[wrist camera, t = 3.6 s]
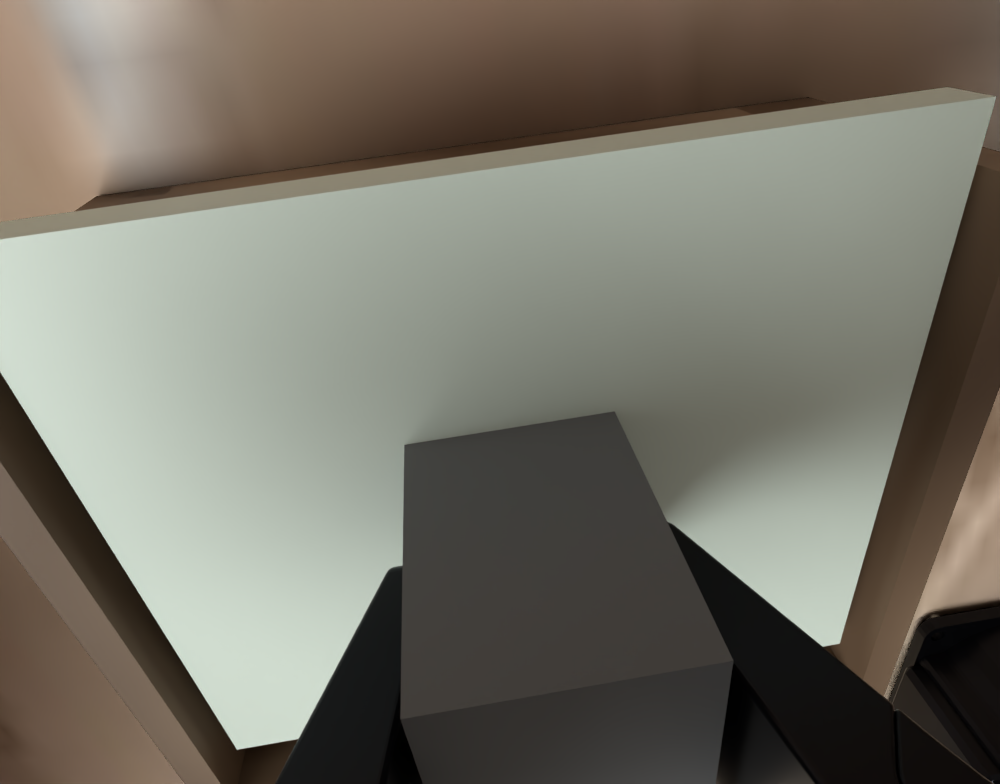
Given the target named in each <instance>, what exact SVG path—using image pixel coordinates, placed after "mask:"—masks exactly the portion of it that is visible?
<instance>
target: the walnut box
mask: <svg viewBox="0 0 1000 784" xmlns="http://www.w3.org/2000/svg"><path fill="white" fill-rule="evenodd" d="M825 104H830V103H826V102H823V101H819V100H816V99H812V98H809V97H807V98H800V99H793V100H785V101H778V102H771V103H764V104H757V105H749V106H742V107H735V108H728V109H721V110H714V111H706V112H699V113H692V114H685V115H678V116H670V117H663V118H656V119H649V120H642V121H635V122H627V123H620V124H613V125H606V126H599V127H591V128H584V129H577V130H570V131H563V132H556V133H548V134H541V135H534V136H527V137H520V138H512V139H505V140H498V141H491V142H484V143H477V144H469V145H462V146H455V147H448V148H441V149H434V150H426V151H419V152H412V153H405V154H398V155H390V156H383V157H376V158H369V159H362V160H355V161H347V162H340V163H333V164H326V165H319V166H311V167H304V168H297V169H290V170H283V171H276V172H268V173H261V174H254V175H247V176H240V177H232V178H225V179H218V180H211V181H204V182H197V183H189V184H182V185H175V186H168V187H161V188H153V189H146V190H139V191H132V192H125V193H118V194H110V195H103V196H96V197H95V198H93V199H92V200H90V201H89V202H87V203H86V204H85V205H83V206H82V207H80V208H79V209H77V210H76V211H81V210H88V209H95V208H102V207H109V206H116V205H123V204H130V203H137V202H144V201H151V200H158V199H165V198H172V197H179V196H186V195H193V194H201V193H208V192H215V191H222V190H229V189H236V188H243V187H250V186H257V185H264V184H271V183H278V182H285V181H292V180H299V179H306V178H313V177H320V176H327V175H334V174H341V173H348V172H355V171H362V170H369V169H376V168H383V167H390V166H397V165H404V164H411V163H418V162H425V161H432V160H439V159H446V158H453V157H460V156H467V155H474V154H481V153H488V152H495V151H502V150H509V149H516V148H523V147H530V146H537V145H544V144H551V143H558V142H565V141H572V140H579V139H586V138H593V137H600V136H607V135H614V134H621V133H628V132H635V131H642V130H649V129H656V128H663V127H670V126H677V125H685V124H692V123H699V122H706V121H713V120H720V119H727V118H734V117H741V116H748V115H755V114H762V113H769V112H776V111H783V110H790V109H797V108H804V107H811V106H818V105H825ZM999 388H1000V152H999V151H995V150H992V149H988V148H984V147H982V149H981V153H980V156H979V160H978V163H977V166H976V170H975V173H974V177H973V180H972V184H971V187H970V191H969V194H968V198H967V201H966V205H965V208H964V212H963V215H962V219H961V222H960V226H959V229H958V233H957V236H956V240H955V243H954V247H953V250H952V254H951V257H950V261H949V264H948V268H947V271H946V275H945V278H944V282H943V285H942V289H941V292H940V295H939V299H938V302H937V306H936V309H935V313H934V316H933V320H932V323H931V327H930V330H929V334H928V337H927V341H926V344H925V348H924V351H923V355H922V358H921V362H920V365H919V369H918V372H917V376H916V379H915V383H914V386H913V390H912V393H911V397H910V400H909V404H908V407H907V411H906V414H905V417H904V421H903V424H902V428H901V431H900V435H899V438H898V442H897V445H896V449H895V452H894V456H893V459H892V463H891V466H890V470H889V473H888V477H887V480H886V484H885V487H884V491H883V494H882V498H881V501H880V505H879V508H878V512H877V515H876V519H875V522H874V526H873V529H872V533H871V536H870V539H869V543H868V546H867V550H866V553H865V557H864V560H863V564H862V567H861V571H860V574H859V578H858V581H857V585H856V588H855V592H854V595H853V599H852V602H851V606H850V609H849V613H848V616H847V620H846V623H845V627H844V630H843V634H842V637H841V641H840V644H835V645H829V646H824V648H825V649H826V650H827V651H829V652H830V653H831V654H832V655H834V656H835V657H836V658H837V659H838V660H840V661H841V662H842V663H843V664H845V665H846V666H847V667H848V668H849V669H851V670H852V671H853V672H854V673H856V674H857V675H858V676H859V677H860V678H862V679H863V680H864V681H865V682H867V683H868V684H869V685H870V686H871V687H873V688H874V689H875V690H876V691H878V692H879V693H880V694H881V695H882V696H884V694H885V691H886V689H887V686H888V683H889V681H890V678H891V675H892V673H893V670H894V667H895V665H896V662H897V659H898V657H899V654H900V651H901V649H902V646H903V643H904V641H905V638H906V635H907V633H908V630H909V627H910V625H911V622H912V619H913V617H914V614H915V611H916V609H917V606H918V603H919V601H920V598H921V595H922V593H923V590H924V587H925V585H926V582H927V579H928V577H929V574H930V571H931V569H932V566H933V564H934V561H935V558H936V556H937V553H938V550H939V548H940V545H941V542H942V540H943V537H944V534H945V532H946V529H947V526H948V524H949V521H950V518H951V516H952V513H953V510H954V508H955V505H956V502H957V500H958V497H959V494H960V492H961V489H962V486H963V484H964V481H965V478H966V476H967V473H968V470H969V468H970V465H971V462H972V460H973V457H974V454H975V452H976V449H977V446H978V444H979V441H980V438H981V436H982V433H983V430H984V428H985V425H986V422H987V420H988V417H989V415H990V412H991V409H992V407H993V404H994V401H995V399H996V396H997V393H998V391H999ZM0 536H1V538H2V539H3V540H4V542H5V543H6V544H7V546H8V547H9V548H10V550H11V551H12V552H13V554H14V555H15V556H16V558H17V559H18V560H19V562H20V563H21V564H22V566H23V567H24V568H25V570H26V571H27V572H28V574H29V575H30V576H31V578H32V579H33V581H34V582H35V583H36V585H37V586H38V587H39V589H40V590H41V591H42V593H43V594H44V595H45V597H46V598H47V599H48V601H49V602H50V603H51V605H52V606H53V607H54V609H55V610H56V611H57V613H58V614H59V615H60V617H61V618H62V619H63V621H64V622H65V624H66V625H67V626H68V628H69V629H70V630H71V632H72V633H73V634H74V636H75V637H76V638H77V640H78V641H79V642H80V644H81V645H82V646H83V648H84V649H85V650H86V652H87V653H88V654H89V656H90V657H91V658H92V660H93V661H94V662H95V664H96V665H97V667H98V668H99V669H100V671H101V672H102V673H103V675H104V676H105V677H106V679H107V680H108V681H109V683H110V684H111V685H112V687H113V688H114V689H115V691H116V692H117V693H118V695H119V696H120V697H121V699H122V700H123V701H124V703H125V704H126V705H127V707H128V708H129V710H130V711H131V712H132V714H133V715H134V716H135V718H136V719H137V720H138V722H139V723H140V724H141V726H142V727H143V728H144V730H145V731H146V732H147V734H148V735H149V736H150V738H151V739H152V740H153V742H154V743H155V744H156V746H157V747H158V748H159V750H160V751H161V752H162V754H163V755H164V757H165V758H166V759H167V761H168V762H169V763H170V765H171V766H172V767H173V769H174V770H175V771H176V773H177V774H178V775H179V777H180V778H181V779H182V781H183V782H184V783H185V784H275V782H276V780H277V778H278V776H279V775H280V773H281V771H282V769H283V767H284V765H285V763H286V761H287V759H288V758H289V756H290V754H291V752H292V750H293V748H294V746H295V744H296V742H297V741H298V739H295V740H290V741H284V742H278V743H273V744H267V745H261V746H256V747H250V748H244V749H238V750H237V749H236V747H235V746H234V744H233V743H232V741H231V739H230V738H229V736H228V735H227V733H226V731H225V730H224V728H223V727H222V725H221V723H220V722H219V720H218V719H217V717H216V715H215V714H214V712H213V711H212V709H211V707H210V706H209V704H208V703H207V701H206V699H205V698H204V696H203V695H202V693H201V691H200V690H199V688H198V687H197V685H196V683H195V682H194V680H193V679H192V677H191V676H190V674H189V672H188V671H187V669H186V668H185V666H184V664H183V663H182V661H181V660H180V658H179V656H178V655H177V653H176V652H175V650H174V648H173V647H172V645H171V644H170V642H169V640H168V639H167V637H166V636H165V634H164V632H163V631H162V629H161V628H160V626H159V624H158V623H157V621H156V620H155V618H154V617H153V615H152V613H151V612H150V610H149V609H148V607H147V605H146V604H145V602H144V601H143V599H142V597H141V596H140V594H139V593H138V591H137V589H136V588H135V586H134V585H133V583H132V581H131V580H130V578H129V577H128V575H127V573H126V572H125V570H124V569H123V567H122V565H121V564H120V562H119V561H118V559H117V558H116V556H115V554H114V553H113V551H112V550H111V548H110V546H109V545H108V543H107V542H106V540H105V538H104V537H103V535H102V534H101V532H100V530H99V529H98V527H97V526H96V524H95V522H94V521H93V519H92V518H91V516H90V514H89V513H88V511H87V510H86V508H85V506H84V505H83V503H82V502H81V500H80V498H79V497H78V495H77V494H76V492H75V491H74V489H73V487H72V486H71V484H70V483H69V481H68V479H67V478H66V476H65V475H64V473H63V471H62V470H61V468H60V467H59V465H58V463H57V462H56V460H55V459H54V457H53V455H52V454H51V452H50V451H49V449H48V447H47V446H46V444H45V443H44V441H43V439H42V438H41V436H40V435H39V433H38V432H37V430H36V428H35V427H34V425H33V424H32V422H31V420H30V419H29V417H28V416H27V414H26V412H25V411H24V409H23V408H22V406H21V404H20V403H19V401H18V400H17V398H16V396H15V395H14V393H13V392H12V390H11V388H10V387H9V385H8V384H7V382H6V380H5V379H4V377H3V376H2V374H1V373H0Z"/></svg>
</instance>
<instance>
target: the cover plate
mask: <svg viewBox="0 0 1000 784" xmlns="http://www.w3.org/2000/svg"><path fill="white" fill-rule="evenodd" d="M996 97H997V96H992V95H987V94H981V93H976V92H971V91H966V90H961V89H955V88H950V87H944V88H937V89H930V90H923V91H916V92H909V93H902V94H895V95H888V96H881V97H874V98H867V99H860V100H853V101H846V102H839V103H832V104H825V105H818V106H811V107H804V108H797V109H790V110H783V111H776V112H769V113H762V114H755V115H748V116H741V117H734V118H727V119H720V120H713V121H706V122H699V123H692V124H685V125H677V126H670V127H663V128H656V129H649V130H642V131H635V132H628V133H621V134H614V135H607V136H600V137H593V138H586V139H579V140H572V141H565V142H558V143H551V144H544V145H537V146H530V147H523V148H516V149H509V150H502V151H495V152H488V153H481V154H474V155H467V156H460V157H453V158H446V159H439V160H432V161H425V162H418V163H411V164H404V165H397V166H390V167H383V168H376V169H369V170H362V171H355V172H348V173H341V174H334V175H327V176H320V177H313V178H306V179H299V180H292V181H285V182H278V183H271V184H264V185H257V186H250V187H243V188H236V189H229V190H222V191H215V192H208V193H201V194H193V195H186V196H179V197H172V198H165V199H158V200H151V201H144V202H137V203H130V204H123V205H116V206H109V207H102V208H95V209H88V210H81V211H74V212H67V213H60V214H53V215H46V216H39V217H32V218H25V219H18V220H11V221H4V222H0V373H1V374H2V376H3V377H4V379H5V380H6V382H7V384H8V385H9V387H10V388H11V390H12V392H13V393H14V395H15V396H16V398H17V400H18V401H19V403H20V404H21V406H22V408H23V409H24V411H25V412H26V414H27V416H28V417H29V419H30V420H31V422H32V424H33V425H34V427H35V428H36V430H37V432H38V433H39V435H40V436H41V438H42V439H43V441H44V443H45V444H46V446H47V447H48V449H49V451H50V452H51V454H52V455H53V457H54V459H55V460H56V462H57V463H58V465H59V467H60V468H61V470H62V471H63V473H64V475H65V476H66V478H67V479H68V481H69V483H70V484H71V486H72V487H73V489H74V491H75V492H76V494H77V495H78V497H79V498H80V500H81V502H82V503H83V505H84V506H85V508H86V510H87V511H88V513H89V514H90V516H91V518H92V519H93V521H94V522H95V524H96V526H97V527H98V529H99V530H100V532H101V534H102V535H103V537H104V538H105V540H106V542H107V543H108V545H109V546H110V548H111V550H112V551H113V553H114V554H115V556H116V558H117V559H118V561H119V562H120V564H121V565H122V567H123V569H124V570H125V572H126V573H127V575H128V577H129V578H130V580H131V581H132V583H133V585H134V586H135V588H136V589H137V591H138V593H139V594H140V596H141V597H142V599H143V601H144V602H145V604H146V605H147V607H148V609H149V610H150V612H151V613H152V615H153V617H154V618H155V620H156V621H157V623H158V624H159V626H160V628H161V629H162V631H163V632H164V634H165V636H166V637H167V639H168V640H169V642H170V644H171V645H172V647H173V648H174V650H175V652H176V653H177V655H178V656H179V658H180V660H181V661H182V663H183V664H184V666H185V668H186V669H187V671H188V672H189V674H190V676H191V677H192V679H193V680H194V682H195V683H196V685H197V687H198V688H199V690H200V691H201V693H202V695H203V696H204V698H205V699H206V701H207V703H208V704H209V706H210V707H211V709H212V711H213V712H214V714H215V715H216V717H217V719H218V720H219V722H220V723H221V725H222V727H223V728H224V730H225V731H226V733H227V735H228V736H229V738H230V739H231V741H232V743H233V744H234V746H235V747H236V749H237V750H238V749H244V748H250V747H256V746H261V745H267V744H273V743H278V742H284V741H290V740H295V739H299V737H300V735H301V733H302V731H303V729H304V727H305V725H306V724H307V722H308V720H309V718H310V716H311V714H312V712H313V710H314V708H315V707H316V705H317V703H318V701H319V699H320V697H321V695H322V693H323V691H324V690H325V688H326V686H327V684H328V682H329V680H330V678H331V676H332V674H333V673H334V671H335V669H336V667H337V665H338V663H339V661H340V659H341V657H342V656H343V654H344V652H345V650H346V648H347V646H348V644H349V642H350V640H351V639H352V637H353V635H354V633H355V631H356V629H357V627H358V625H359V623H360V622H361V620H362V618H363V616H364V614H365V612H366V610H367V608H368V606H369V605H370V603H371V601H372V599H373V597H374V595H375V593H376V591H377V589H378V588H379V586H380V584H381V582H382V580H383V578H384V576H385V574H386V573H387V571H388V570H389V569H390V568H392V567H396V566H402V565H403V569H402V640H401V710H400V720H401V723H402V725H403V728H404V731H405V734H406V737H407V740H408V743H409V745H410V748H411V751H412V754H413V757H414V760H415V763H416V766H417V768H418V771H419V774H420V777H421V780H422V783H423V784H716V777H717V771H718V764H719V757H720V750H721V743H722V736H723V729H724V722H725V715H726V709H727V702H728V695H729V688H730V681H731V674H732V667H733V659H732V657H731V655H730V652H729V650H728V648H727V646H726V644H725V642H724V640H723V638H722V636H721V634H720V631H719V629H718V627H717V625H716V623H715V621H714V619H713V617H712V615H711V613H710V610H709V608H708V606H707V604H706V602H705V600H704V598H703V596H702V594H701V592H700V590H699V587H698V585H697V583H696V581H695V579H694V577H693V575H692V573H691V571H690V569H689V566H688V564H687V562H686V560H685V558H684V556H683V554H682V552H681V550H680V548H679V545H678V543H677V541H676V539H675V537H674V535H673V533H672V531H671V529H670V527H669V524H668V522H669V523H672V524H673V525H675V526H676V527H677V528H678V529H680V530H681V531H682V532H683V533H684V534H686V535H687V536H688V537H689V538H691V539H692V540H693V541H694V542H695V543H697V544H698V545H699V546H700V547H702V548H703V549H704V550H705V551H706V552H708V553H709V554H710V555H711V556H713V557H714V558H715V559H716V560H717V561H719V562H720V563H721V564H722V565H724V566H725V567H726V568H727V569H728V570H730V571H731V572H732V573H733V574H735V575H736V576H737V577H738V578H739V579H741V580H742V581H743V582H744V583H746V584H747V585H748V586H749V587H750V588H752V589H753V590H754V591H755V592H757V593H758V594H759V595H760V596H761V597H763V598H764V599H765V600H766V601H768V602H769V603H770V604H771V605H772V606H774V607H775V608H776V609H777V610H779V611H780V612H781V613H782V614H783V615H785V616H786V617H787V618H788V619H790V620H791V621H792V622H793V623H794V624H796V625H797V626H798V627H799V628H801V629H802V630H803V631H804V632H805V633H807V634H808V635H809V636H810V637H812V638H813V639H814V640H815V641H816V642H818V643H819V644H820V645H821V646H823V647H824V646H829V645H835V644H840V641H841V637H842V634H843V630H844V627H845V623H846V620H847V616H848V613H849V609H850V606H851V602H852V599H853V595H854V592H855V588H856V585H857V581H858V578H859V574H860V571H861V567H862V564H863V560H864V557H865V553H866V550H867V546H868V543H869V539H870V536H871V533H872V529H873V526H874V522H875V519H876V515H877V512H878V508H879V505H880V501H881V498H882V494H883V491H884V487H885V484H886V480H887V477H888V473H889V470H890V466H891V463H892V459H893V456H894V452H895V449H896V445H897V442H898V438H899V435H900V431H901V428H902V424H903V421H904V417H905V414H906V411H907V407H908V404H909V400H910V397H911V393H912V390H913V386H914V383H915V379H916V376H917V372H918V369H919V365H920V362H921V358H922V355H923V351H924V348H925V344H926V341H927V337H928V334H929V330H930V327H931V323H932V320H933V316H934V313H935V309H936V306H937V302H938V299H939V295H940V292H941V289H942V285H943V282H944V278H945V275H946V271H947V268H948V264H949V261H950V257H951V254H952V250H953V247H954V243H955V240H956V236H957V233H958V229H959V226H960V222H961V219H962V215H963V212H964V208H965V205H966V201H967V198H968V194H969V191H970V187H971V184H972V180H973V177H974V173H975V170H976V166H977V163H978V160H979V156H980V153H981V149H982V146H983V142H984V139H985V135H986V132H987V128H988V125H989V121H990V118H991V114H992V111H993V107H994V104H995V100H996Z"/></svg>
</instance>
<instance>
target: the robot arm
mask: <svg viewBox="0 0 1000 784" xmlns="http://www.w3.org/2000/svg"><path fill="white" fill-rule="evenodd" d="M668 524H669V527H670V529H671V531H672V533H673V535H674V537H675V539H676V541H677V543H678V545H679V548H680V550H681V552H682V554H683V556H684V558H685V560H686V562H687V564H688V566H689V569H690V571H691V573H692V575H693V577H694V579H695V581H696V583H697V585H698V587H699V590H700V592H701V594H702V596H703V598H704V600H705V602H706V604H707V606H708V608H709V610H710V613H711V615H712V617H713V619H714V621H715V623H716V625H717V627H718V629H719V631H720V634H721V636H722V638H723V640H724V642H725V644H726V646H727V648H728V650H729V652H730V655H731V657H732V659H733V667H732V674H731V681H730V688H729V695H728V702H727V709H726V715H725V722H724V729H723V736H722V743H721V750H720V757H719V764H718V771H717V777H716V784H1000V606H999V607H993V608H987V609H981V610H976V611H970V612H964V613H958V614H953V615H947V616H941V617H935V618H931V619H928V620H926V621H924V622H923V623H922V624H920V625H919V627H918V628H917V630H916V633H915V635H914V638H913V640H912V643H911V645H910V648H909V651H908V653H907V656H906V658H905V661H904V664H903V666H902V669H901V671H900V674H899V677H898V679H897V682H896V684H895V687H894V689H893V692H892V695H891V697H890V700H887V699H886V698H885V697H884V696H882V695H881V694H880V693H879V692H878V691H876V690H875V689H874V688H873V687H871V686H870V685H869V684H868V683H867V682H865V681H864V680H863V679H862V678H860V677H859V676H858V675H857V674H856V673H854V672H853V671H852V670H851V669H849V668H848V667H847V666H846V665H845V664H843V663H842V662H841V661H840V660H838V659H837V658H836V657H835V656H834V655H832V654H831V653H830V652H829V651H827V650H826V649H825V648H824V647H823V646H821V645H820V644H819V643H818V642H816V641H815V640H814V639H813V638H812V637H810V636H809V635H808V634H807V633H805V632H804V631H803V630H802V629H801V628H799V627H798V626H797V625H796V624H794V623H793V622H792V621H791V620H790V619H788V618H787V617H786V616H785V615H783V614H782V613H781V612H780V611H779V610H777V609H776V608H775V607H774V606H772V605H771V604H770V603H769V602H768V601H766V600H765V599H764V598H763V597H761V596H760V595H759V594H758V593H757V592H755V591H754V590H753V589H752V588H750V587H749V586H748V585H747V584H746V583H744V582H743V581H742V580H741V579H739V578H738V577H737V576H736V575H735V574H733V573H732V572H731V571H730V570H728V569H727V568H726V567H725V566H724V565H722V564H721V563H720V562H719V561H717V560H716V559H715V558H714V557H713V556H711V555H710V554H709V553H708V552H706V551H705V550H704V549H703V548H702V547H700V546H699V545H698V544H697V543H695V542H694V541H693V540H692V539H691V538H689V537H688V536H687V535H686V534H684V533H683V532H682V531H681V530H680V529H678V528H677V527H676V526H675V525H673V524H672V523H669V522H668ZM402 569H403V565H402V566H396V567H392V568H390V569H389V570H388V571H387V573H386V574H385V576H384V578H383V580H382V582H381V584H380V586H379V588H378V589H377V591H376V593H375V595H374V597H373V599H372V601H371V603H370V605H369V606H368V608H367V610H366V612H365V614H364V616H363V618H362V620H361V622H360V623H359V625H358V627H357V629H356V631H355V633H354V635H353V637H352V639H351V640H350V642H349V644H348V646H347V648H346V650H345V652H344V654H343V656H342V657H341V659H340V661H339V663H338V665H337V667H336V669H335V671H334V673H333V674H332V676H331V678H330V680H329V682H328V684H327V686H326V688H325V690H324V691H323V693H322V695H321V697H320V699H319V701H318V703H317V705H316V707H315V708H314V710H313V712H312V714H311V716H310V718H309V720H308V722H307V724H306V725H305V727H304V729H303V731H302V733H301V735H300V737H299V739H298V741H297V742H296V744H295V746H294V748H293V750H292V752H291V754H290V756H289V758H288V759H287V761H286V763H285V765H284V767H283V769H282V771H281V773H280V775H279V776H278V778H277V780H276V782H275V784H423V783H422V780H421V777H420V774H419V771H418V768H417V766H416V763H415V760H414V757H413V754H412V751H411V748H410V745H409V743H408V740H407V737H406V734H405V731H404V728H403V725H402V723H401V720H400V710H401V640H402Z"/></svg>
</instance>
